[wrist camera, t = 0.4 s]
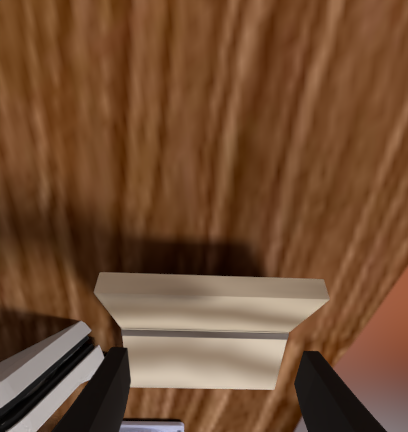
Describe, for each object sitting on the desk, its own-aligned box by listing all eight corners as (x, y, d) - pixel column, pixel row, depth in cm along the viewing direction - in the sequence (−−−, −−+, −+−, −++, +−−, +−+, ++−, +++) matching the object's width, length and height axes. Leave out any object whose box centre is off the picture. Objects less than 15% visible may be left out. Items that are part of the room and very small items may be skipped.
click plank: (286, 315, 20) (289, 331, 19) (124, 311, 20) (120, 327, 19) (323, 279, 15) (329, 299, 14) (99, 272, 14) (93, 292, 13)
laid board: (270, 376, 23) (274, 390, 22) (131, 373, 23) (127, 387, 22) (283, 320, 21) (288, 333, 19) (125, 316, 20) (121, 329, 19)
